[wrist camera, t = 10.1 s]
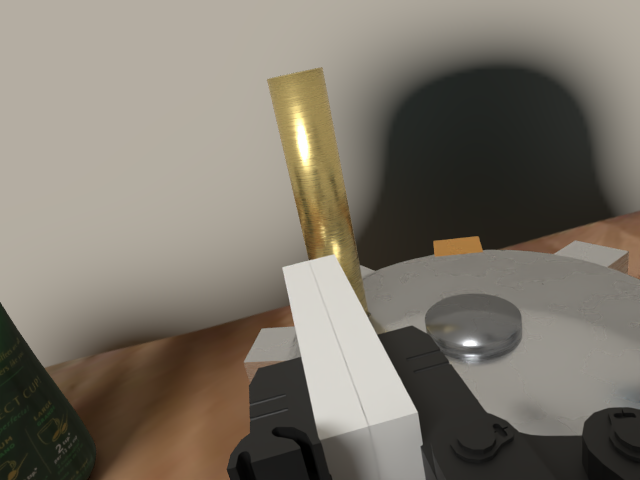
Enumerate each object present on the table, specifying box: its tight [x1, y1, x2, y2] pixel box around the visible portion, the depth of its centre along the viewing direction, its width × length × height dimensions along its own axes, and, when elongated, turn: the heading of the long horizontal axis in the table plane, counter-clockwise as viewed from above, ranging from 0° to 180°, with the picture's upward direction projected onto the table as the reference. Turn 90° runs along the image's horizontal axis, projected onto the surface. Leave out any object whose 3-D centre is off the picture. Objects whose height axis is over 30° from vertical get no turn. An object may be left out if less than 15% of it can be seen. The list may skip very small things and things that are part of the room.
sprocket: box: [244, 67, 640, 436], centre depth 19 cm, size 21×21×14 cm
